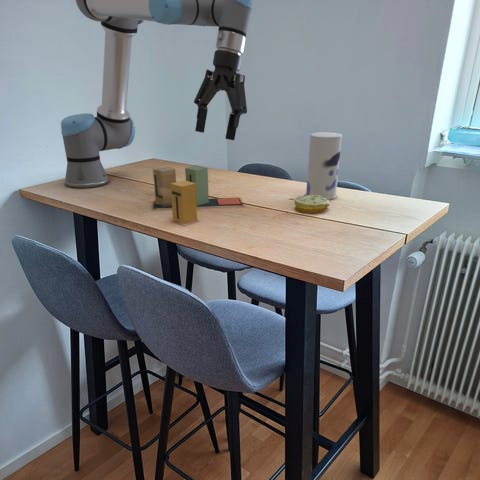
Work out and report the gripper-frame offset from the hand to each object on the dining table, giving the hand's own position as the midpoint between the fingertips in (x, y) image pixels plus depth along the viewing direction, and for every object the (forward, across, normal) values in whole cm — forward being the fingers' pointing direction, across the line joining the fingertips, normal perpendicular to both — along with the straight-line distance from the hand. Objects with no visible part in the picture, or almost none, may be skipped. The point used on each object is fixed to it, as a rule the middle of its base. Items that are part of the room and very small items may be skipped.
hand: (214, 135), depth 134 cm
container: (+12, +12, +42) cm, 45 cm away
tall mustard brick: (+24, +2, -7) cm, 26 cm away
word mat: (+22, -9, +6) cm, 24 cm away
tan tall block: (+23, -15, -2) cm, 28 cm away
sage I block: (+21, -9, +6) cm, 24 cm away
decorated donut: (+15, +19, +28) cm, 37 cm away
